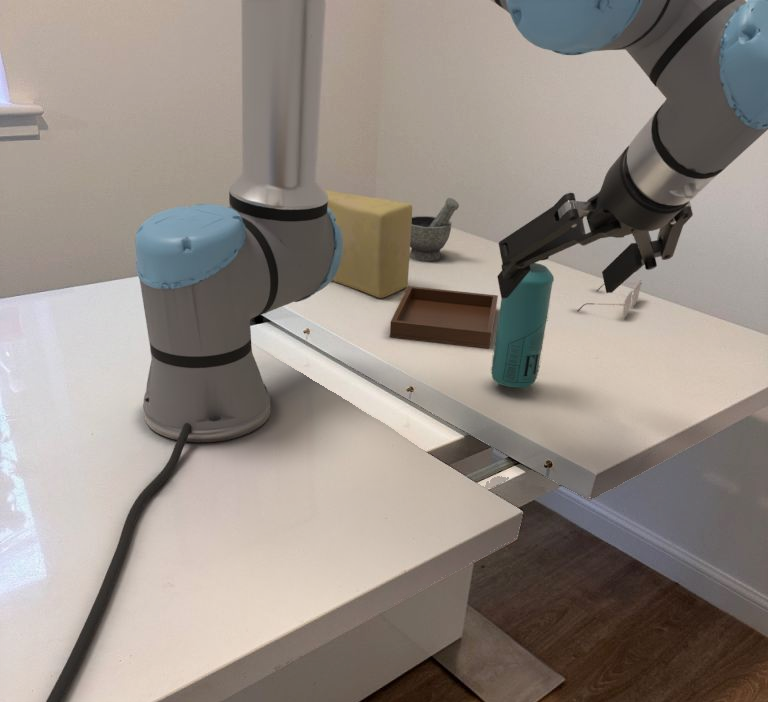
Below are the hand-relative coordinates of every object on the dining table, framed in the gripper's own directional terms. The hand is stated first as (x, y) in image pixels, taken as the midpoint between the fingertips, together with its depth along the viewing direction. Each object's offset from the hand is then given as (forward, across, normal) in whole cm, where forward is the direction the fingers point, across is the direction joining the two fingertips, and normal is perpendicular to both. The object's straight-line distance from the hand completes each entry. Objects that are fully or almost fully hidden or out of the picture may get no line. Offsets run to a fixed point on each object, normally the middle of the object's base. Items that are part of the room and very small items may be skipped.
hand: (555, 284), depth 85 cm
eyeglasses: (+37, +31, +13) cm, 50 cm away
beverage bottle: (+17, 0, -7) cm, 18 cm away
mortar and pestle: (+60, +8, +36) cm, 70 cm away
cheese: (+50, -13, +27) cm, 59 cm away
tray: (+34, -1, +11) cm, 36 cm away
